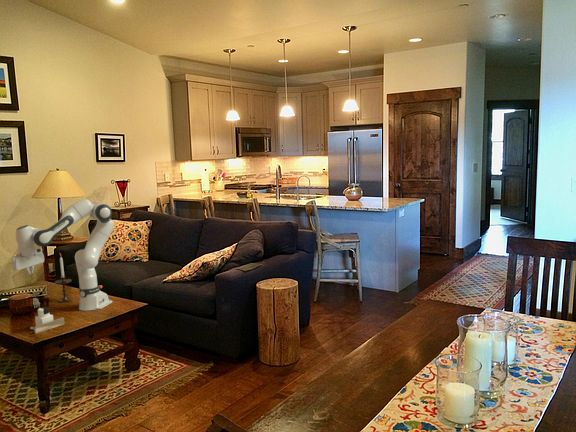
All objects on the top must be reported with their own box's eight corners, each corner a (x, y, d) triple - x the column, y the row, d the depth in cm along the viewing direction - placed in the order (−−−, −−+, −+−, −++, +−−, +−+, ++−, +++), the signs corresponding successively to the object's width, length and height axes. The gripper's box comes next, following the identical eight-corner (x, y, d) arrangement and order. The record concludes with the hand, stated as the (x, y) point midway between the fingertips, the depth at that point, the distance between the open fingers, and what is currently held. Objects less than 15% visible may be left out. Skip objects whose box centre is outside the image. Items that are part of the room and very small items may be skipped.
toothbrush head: (34, 294, 346) (39, 297, 326) (35, 303, 346) (41, 306, 326) (26, 295, 343) (31, 298, 323) (27, 304, 343) (32, 308, 323)
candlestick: (53, 302, 337) (48, 253, 332) (64, 297, 347) (59, 250, 342) (65, 303, 334) (61, 254, 329) (76, 298, 344) (72, 250, 339)
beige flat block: (25, 330, 283) (24, 324, 282) (53, 321, 298) (53, 314, 298) (36, 333, 277) (35, 327, 277) (64, 324, 292) (63, 317, 292)
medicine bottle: (47, 324, 293) (45, 305, 291) (54, 326, 289) (52, 307, 287) (36, 328, 287) (34, 308, 285) (43, 330, 283) (41, 310, 281)
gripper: (15, 256, 285) (19, 278, 287) (44, 248, 303) (47, 269, 305) (7, 256, 287) (11, 278, 289) (36, 248, 306) (40, 269, 308)
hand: (30, 273), depth 297 cm, fingers closed
